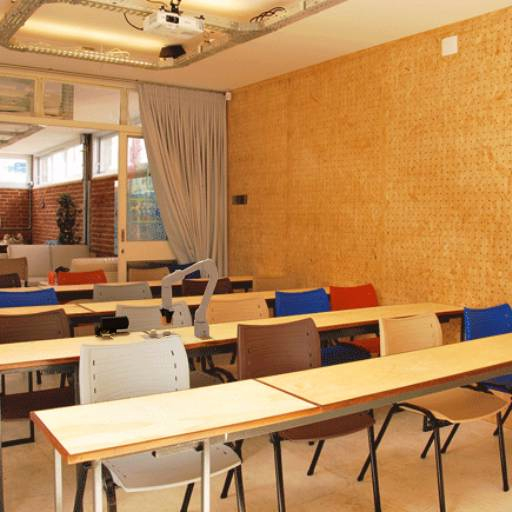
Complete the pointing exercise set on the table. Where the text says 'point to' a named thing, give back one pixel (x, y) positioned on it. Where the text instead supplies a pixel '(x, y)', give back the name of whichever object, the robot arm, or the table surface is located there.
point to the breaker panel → (157, 335)
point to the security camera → (112, 324)
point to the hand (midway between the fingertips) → (166, 322)
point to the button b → (153, 331)
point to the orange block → (163, 321)
